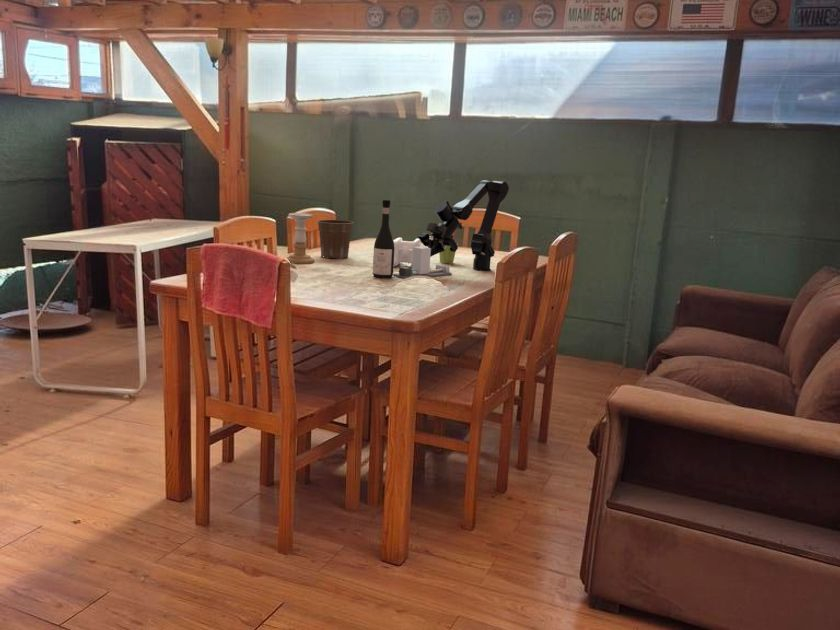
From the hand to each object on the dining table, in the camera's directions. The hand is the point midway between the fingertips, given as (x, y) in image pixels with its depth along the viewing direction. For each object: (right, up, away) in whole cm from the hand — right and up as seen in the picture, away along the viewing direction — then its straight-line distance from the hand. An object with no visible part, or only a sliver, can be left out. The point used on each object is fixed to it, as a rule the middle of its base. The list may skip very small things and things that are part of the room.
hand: (426, 257), depth 292 cm
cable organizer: (-9, -2, +23) cm, 24 cm away
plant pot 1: (-41, +3, +35) cm, 54 cm away
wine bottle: (-17, -8, -8) cm, 21 cm away
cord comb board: (-1, -7, +1) cm, 7 cm away
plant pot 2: (+10, 0, +38) cm, 39 cm away
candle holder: (-54, -1, +16) cm, 56 cm away
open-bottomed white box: (-2, -6, 0) cm, 7 cm away
